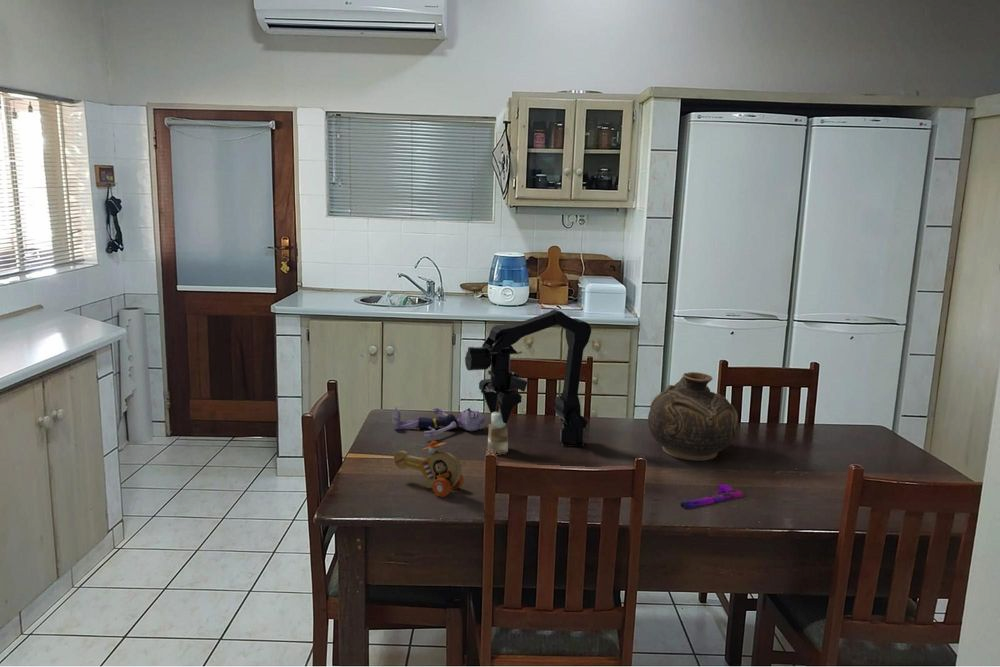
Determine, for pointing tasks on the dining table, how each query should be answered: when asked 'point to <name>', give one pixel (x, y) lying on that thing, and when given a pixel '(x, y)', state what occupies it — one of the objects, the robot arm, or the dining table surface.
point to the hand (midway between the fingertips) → (498, 418)
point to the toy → (440, 421)
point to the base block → (498, 446)
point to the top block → (498, 434)
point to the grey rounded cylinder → (497, 420)
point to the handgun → (714, 497)
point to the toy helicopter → (434, 468)
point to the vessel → (692, 419)
